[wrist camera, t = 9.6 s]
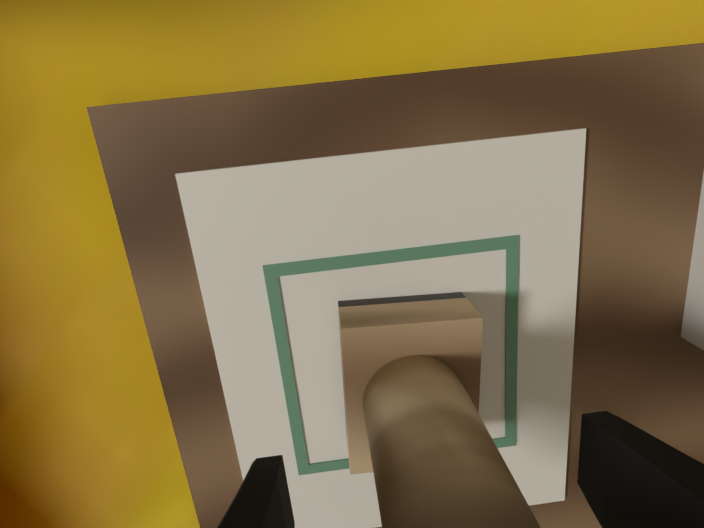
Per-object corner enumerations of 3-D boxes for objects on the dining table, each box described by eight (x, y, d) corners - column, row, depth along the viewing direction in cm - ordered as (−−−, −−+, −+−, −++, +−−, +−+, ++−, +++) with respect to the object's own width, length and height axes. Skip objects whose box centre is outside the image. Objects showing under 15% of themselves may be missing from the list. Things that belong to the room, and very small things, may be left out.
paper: (562, 496, 18) (565, 501, 18) (257, 539, 17) (257, 545, 17) (582, 128, 14) (587, 128, 13) (176, 173, 13) (174, 174, 13)
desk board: (835, 472, 20) (861, 490, 19) (221, 561, 19) (215, 585, 18) (968, 17, 14) (1015, 10, 13) (102, 108, 13) (86, 107, 12)
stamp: (457, 421, 16) (555, 633, 10) (346, 431, 16) (367, 655, 9) (461, 291, 15) (581, 436, 8) (337, 301, 14) (356, 457, 8)
